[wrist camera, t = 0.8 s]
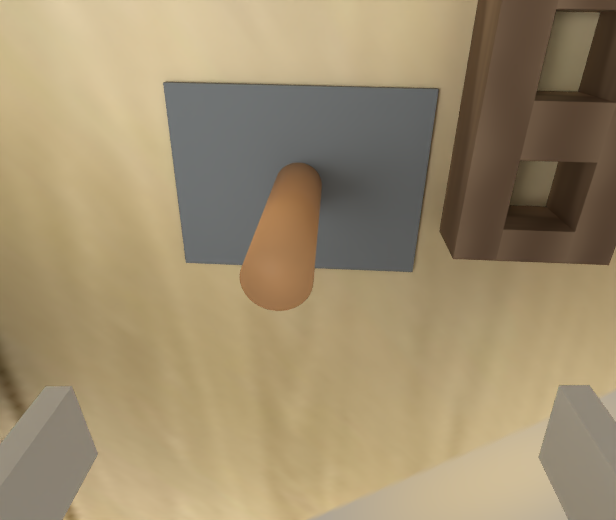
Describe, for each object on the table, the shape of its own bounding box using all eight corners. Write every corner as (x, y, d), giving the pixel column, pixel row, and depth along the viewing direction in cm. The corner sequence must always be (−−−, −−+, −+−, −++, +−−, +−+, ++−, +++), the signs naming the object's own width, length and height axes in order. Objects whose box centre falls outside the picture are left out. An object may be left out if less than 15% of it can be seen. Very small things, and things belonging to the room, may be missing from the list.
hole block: (439, 231, 30) (453, 258, 27) (515, -223, 20) (554, -276, 16) (576, 236, 30) (608, 264, 26) (726, -224, 19) (812, -279, 16)
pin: (275, 206, 30) (241, 309, 19) (274, 161, 28) (237, 245, 18) (321, 208, 29) (312, 312, 19) (322, 163, 28) (314, 248, 17)
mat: (187, 260, 32) (185, 262, 32) (165, 82, 27) (163, 82, 26) (411, 269, 32) (412, 272, 31) (437, 88, 26) (438, 89, 26)
